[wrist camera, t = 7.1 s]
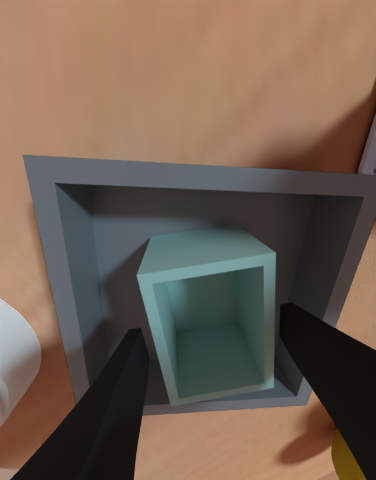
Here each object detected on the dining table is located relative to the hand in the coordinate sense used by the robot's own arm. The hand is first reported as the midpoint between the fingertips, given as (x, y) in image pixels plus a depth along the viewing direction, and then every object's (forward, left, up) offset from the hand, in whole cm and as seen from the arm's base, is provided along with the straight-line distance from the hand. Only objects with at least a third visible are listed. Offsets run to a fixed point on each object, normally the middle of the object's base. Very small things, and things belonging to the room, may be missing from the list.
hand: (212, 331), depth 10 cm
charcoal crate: (0, 0, -5) cm, 5 cm away
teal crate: (0, 0, -4) cm, 4 cm away
